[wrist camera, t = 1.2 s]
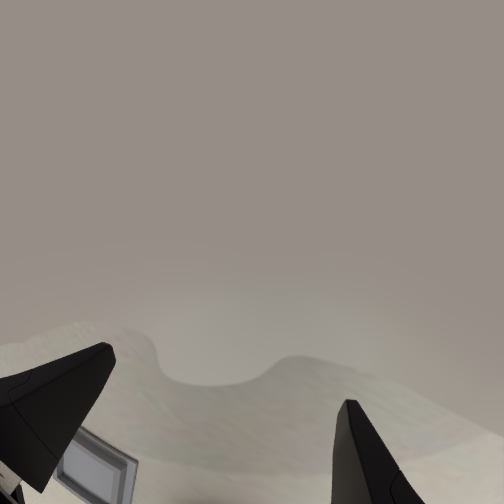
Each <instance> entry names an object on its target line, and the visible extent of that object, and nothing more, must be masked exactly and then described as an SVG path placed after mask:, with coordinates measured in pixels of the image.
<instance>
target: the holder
mask: <svg viewBox="0 0 504 504" xmlns="http://www.w3.org/2000/svg"><path fill="white" fill-rule="evenodd" d="M137 467H138V462H136V461H135V460H133V459H131V458H129V457H127V456H125V455H124V454H122V453H120V452H118V451H117V450H115V449H113V448H112V447H110V446H108V445H107V444H105V443H104V442H102V441H100V440H99V439H97V438H96V437H94V436H93V435H91V434H90V433H88V432H87V431H85V430H84V429H82V428H81V427H79V429H78V431H77V432H76V434H75V436H74V437H73V439H72V441H71V442H70V444H69V446H68V447H67V449H66V451H65V453H64V454H63V456H62V458H61V460H60V461H59V463H58V465H57V467H56V469H55V470H54V472H53V478H54V479H55V480H56V481H57V482H59V483H60V484H61V485H62V486H64V487H65V488H66V489H68V490H69V491H70V492H71V493H73V494H74V495H75V496H77V497H78V498H80V499H81V500H82V501H84V502H85V503H87V504H131V502H132V495H133V489H134V483H135V478H136V472H137Z"/></svg>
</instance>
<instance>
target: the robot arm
mask: <svg viewBox="0 0 504 504" xmlns="http://www.w3.org/2000/svg"><path fill="white" fill-rule="evenodd" d="M115 363H116V358H115V355H114V351H113V347H112V346H111V345H110V344H108V343H105V342H101V343H98V344H96V345H93V346H91V347H88V348H86V349H83V350H81V351H78V352H75V353H73V354H70V355H68V356H65V357H62V358H60V359H57V360H54V361H52V362H49V363H46V364H44V365H41V366H38V367H36V368H34V369H30V370H27V371H24V372H21V373H18V374H15V375H11V376H8V377H4V378H0V504H25V501H24V497H23V492H22V487H21V485H20V482H21V481H22V480H23V481H25V482H26V483H27V484H29V485H30V486H31V487H32V488H34V489H35V490H36V491H38V492H39V493H41V494H42V492H43V491H44V489H45V487H46V485H47V483H48V481H49V479H50V478H51V476H52V474H53V472H54V470H55V469H56V467H57V465H58V463H59V461H60V460H61V458H62V456H63V454H64V453H65V451H66V449H67V447H68V446H69V444H70V442H71V441H72V439H73V437H74V436H75V434H76V432H77V431H78V429H79V427H80V426H81V424H82V422H83V421H84V419H85V418H86V416H87V414H88V413H89V411H90V409H91V408H92V406H93V405H94V403H95V402H96V400H97V398H98V397H99V395H100V393H101V392H102V390H103V388H104V386H105V384H106V382H107V380H108V378H109V376H110V374H111V372H112V370H113V368H114V366H115ZM399 469H400V468H399V467H398V465H397V463H396V462H395V460H394V458H393V457H392V455H391V454H390V452H389V450H388V449H387V447H386V446H385V444H384V442H383V441H382V439H381V438H380V436H379V434H378V433H377V431H376V430H375V428H374V427H373V425H372V423H371V422H370V420H369V419H368V417H367V415H366V414H365V412H364V411H363V409H362V408H361V406H360V404H359V403H358V401H357V400H350V399H346V400H345V401H344V403H343V405H342V407H341V409H340V411H339V413H338V416H337V424H336V432H335V440H334V448H333V467H332V497H331V504H425V503H424V502H423V500H422V499H421V498H420V497H419V496H418V494H417V493H416V492H415V490H414V489H413V488H412V487H411V485H410V484H409V482H408V481H407V479H406V478H405V476H404V474H403V473H402V471H401V470H399Z"/></svg>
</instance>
